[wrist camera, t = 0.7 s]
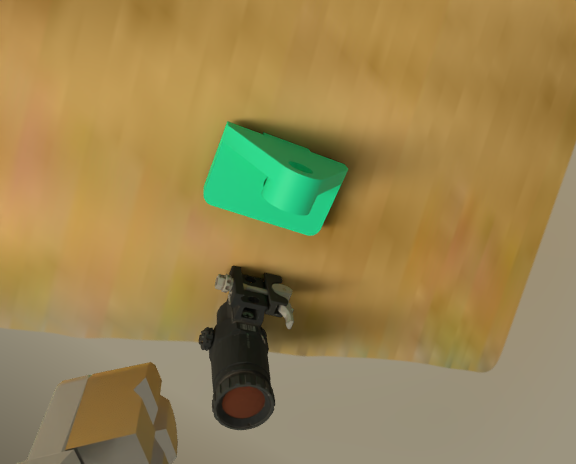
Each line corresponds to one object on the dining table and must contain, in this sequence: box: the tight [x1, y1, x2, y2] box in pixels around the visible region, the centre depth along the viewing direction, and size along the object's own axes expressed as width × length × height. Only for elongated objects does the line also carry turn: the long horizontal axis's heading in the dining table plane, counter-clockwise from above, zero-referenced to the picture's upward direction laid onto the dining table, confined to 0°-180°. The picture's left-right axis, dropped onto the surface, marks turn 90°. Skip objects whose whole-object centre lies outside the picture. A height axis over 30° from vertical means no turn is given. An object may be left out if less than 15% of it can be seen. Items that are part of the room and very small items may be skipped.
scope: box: [199, 266, 294, 430], centre depth 50 cm, size 8×14×10 cm
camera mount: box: [204, 121, 348, 236], centre depth 46 cm, size 12×8×10 cm, turn 68°
